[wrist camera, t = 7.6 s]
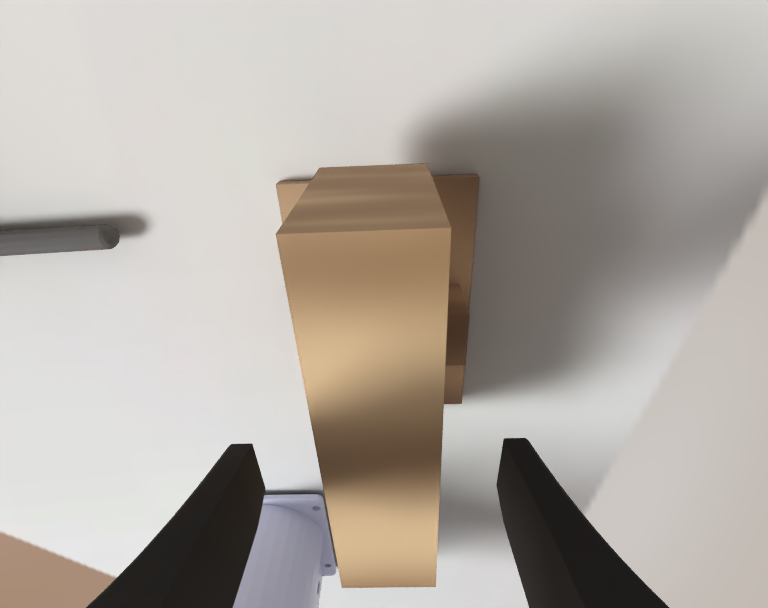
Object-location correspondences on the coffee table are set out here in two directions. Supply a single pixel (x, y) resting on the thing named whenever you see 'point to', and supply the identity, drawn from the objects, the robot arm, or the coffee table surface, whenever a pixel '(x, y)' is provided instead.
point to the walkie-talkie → (58, 239)
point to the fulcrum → (461, 214)
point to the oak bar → (373, 360)
